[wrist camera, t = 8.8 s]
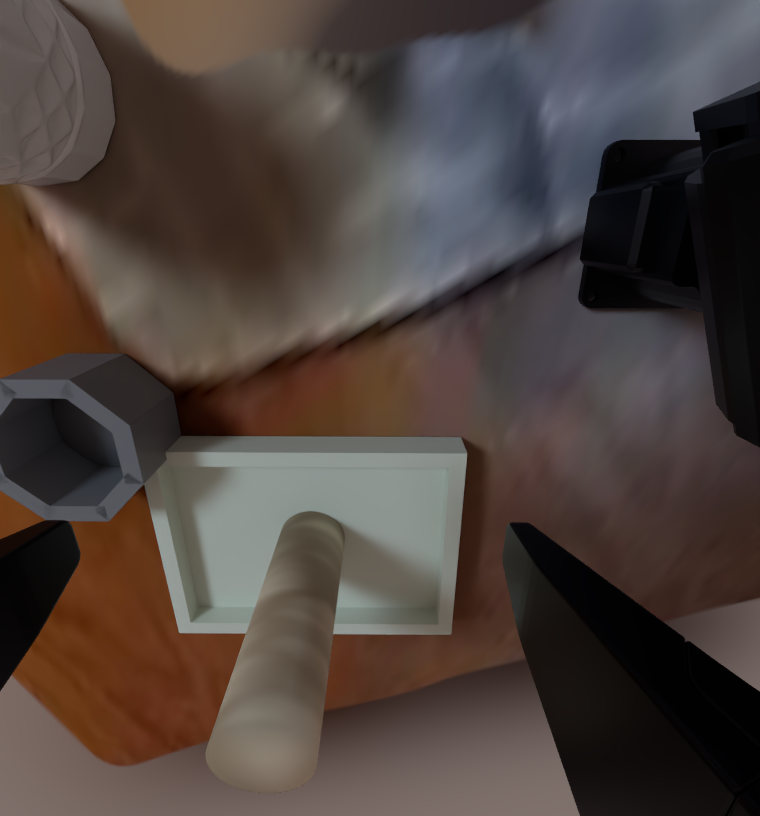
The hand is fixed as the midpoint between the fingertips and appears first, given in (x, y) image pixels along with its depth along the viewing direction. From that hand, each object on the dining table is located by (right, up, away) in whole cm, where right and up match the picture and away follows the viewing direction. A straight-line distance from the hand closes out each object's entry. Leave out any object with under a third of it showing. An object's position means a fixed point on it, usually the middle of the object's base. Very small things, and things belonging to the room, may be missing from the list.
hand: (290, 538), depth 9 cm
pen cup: (-12, +2, +13) cm, 18 cm away
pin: (-2, -5, +15) cm, 16 cm away
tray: (-2, -4, +16) cm, 17 cm away
